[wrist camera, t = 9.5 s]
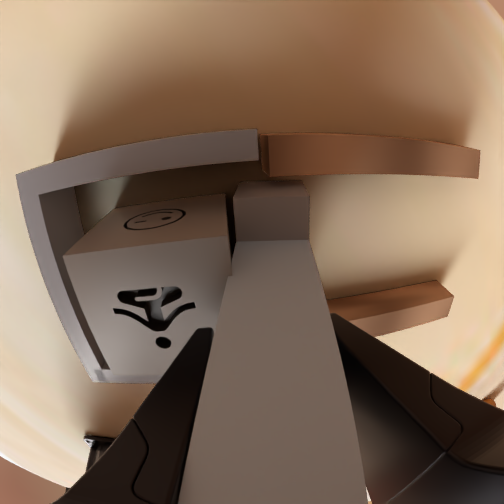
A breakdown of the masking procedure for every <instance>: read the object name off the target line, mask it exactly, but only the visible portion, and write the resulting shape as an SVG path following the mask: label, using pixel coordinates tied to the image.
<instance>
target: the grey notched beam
mask: <svg viewBox="0 0 504 504" xmlns="http://www.w3.org/2000/svg"><path fill="white" fill-rule="evenodd" d="M233 206H234V219H235V231H236V245H235V249H234V253H233V257H232V262H231V266H232V276H228V278H227V282H226V286H225V291H224V295H223V299H222V303H221V307H220V312H219V316H218V320H217V324H216V329H215V333H214V337H213V342H212V346H211V350H210V355H209V359H208V364H207V368H206V372H205V377H204V381H203V386H202V390H201V395H200V399H199V404H198V409H197V413H196V418H195V422H194V427H193V432H192V437H191V441H190V446H189V451H188V456H187V460H186V465H185V470H184V475H183V480H182V485H181V490H180V495H179V500H178V504H368V500H367V492H366V485H365V479H364V472H363V466H362V460H361V454H360V448H359V442H358V437H357V431H356V426H355V421H354V416H353V411H352V406H351V401H350V396H349V392H348V387H347V382H346V378H345V373H344V369H343V365H342V360H341V356H340V352H339V348H338V344H337V340H336V336H335V332H334V328H333V324H332V320H331V316H330V312H329V308H328V305H327V301H326V297H325V294H324V290H323V286H322V283H321V279H320V276H319V272H318V269H317V265H316V262H315V258H314V255H313V252H312V248H311V245H310V242H309V211H310V196H309V194H308V192H307V190H306V188H305V186H304V184H303V182H302V180H279V181H250V182H240V183H239V185H238V188H237V190H236V192H235V195H234V197H233Z"/></svg>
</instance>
